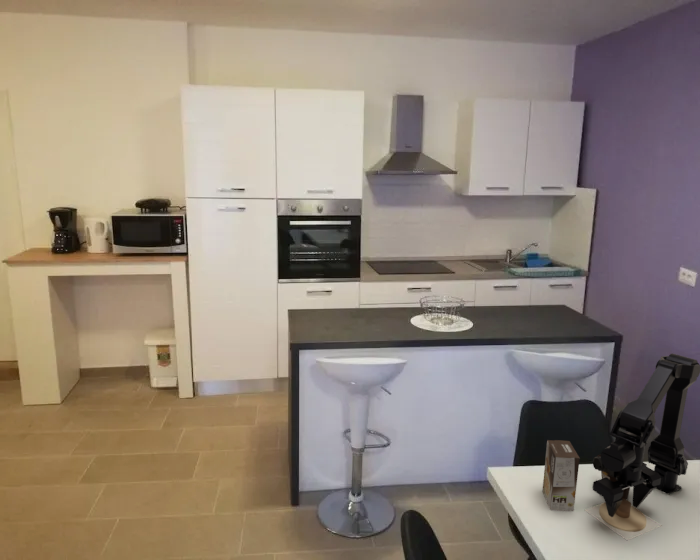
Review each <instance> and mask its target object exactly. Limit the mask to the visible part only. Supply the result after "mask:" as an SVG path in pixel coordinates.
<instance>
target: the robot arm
mask: <svg viewBox="0 0 700 560" xmlns="http://www.w3.org/2000/svg"><path fill="white" fill-rule="evenodd" d="M699 376H700V362H698V360H697V359H695V358H691V357H687V356H684V355H680V354H676V353H674V352H673V353H670V354H669V355H665V356H663V355H662V356H661V357H660V359H659V360H658V361H656V365H655V369H654V371H653V373H652V374H651V376H650V377H649V379H648V381H647V383H646V384H645V385H644V388H643V389H642V391H641V392H640V394H639V395H638V397H637V398H636V399H634V400H632V401H630V402H628V403H626V404H625V406H624V407H623V409H621V410H620V411H619V412H618V415H617V417H616V419H615V421H614V424H613V425H612V428H611V430H610V432H609V436H611V437H613V438H614V439H615V441H612V442H611V443H610V444H609V446H607V447H605V448H603V449H602V451H601V452H600V455H601V457H599V456H595V457H593V460H592V466H593V468H594V470H598V472H601V471H606V472H610V474H609V475H610V476H612V477H615V478H616V480H617V481H615V482H613V481H611V480H609V479H608V478H603V479H602V478H600V479H597V480H594V481H593V482H592V491H594V492H595V493H597V494H599V496H601V497H602V498H603V500H604V502H605V503H606V507H607V511H608V514H609V516H611V517H613V516H614V515H615V513H616V511H617V509H618V508H619V506H620V504H621V502H622V500H623V499H622V496H623V489H626V488H629V487H630V488H633V489H632V506H633V507H635V508H637V509H638V507H639V506H640V505H641V504H642V503H643V502H644V500H645V499H646V498H647V497H648V496H649V495H650V494H651V493H652V492H653V491H654V490H655V489H657V490H659V491H661V492H662V493H664V494H667V495H670V494H672V493H675V492H677V491H680V490H682V486H680V485H679V484H677V483H678V477H679V476H681V475H683V476H684V475H686V474H687V470H688V465H689V463H688V460H687V458H686V457H685V446H684V444H683V442H682V440H681V437H680V434H681V429H682V423H683V417H684V413H685V406H686V401H687V400H686V399H687V394H688V389H689V388H690V387H691V386H693V384H694V383H695V382H697V378H699ZM664 397H665V399H664ZM663 399H664V400H665V401H664V408H663V412H662V419H661V425H660V431H659V434H658V435H657V436H656V437H655V438H653V440H652V441H650V440H651V438H652V437H653V434H654V432H655V430H656V427H655V426H656V416H655V415H656V414H655V413H656V411H657V409H658V407H660V404H661V403H662V400H663ZM620 429H621V430H624V431H626V432H624V431H621V430H620ZM649 442H650V444H649V446H648V448H647V449H648V450H647V458H648V459H647V460H648V463H649V464H652V465H654V469H652V468H651V467H648V465H647V463H645V462H644V459H645V451H646V445H648V443H649Z"/></svg>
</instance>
